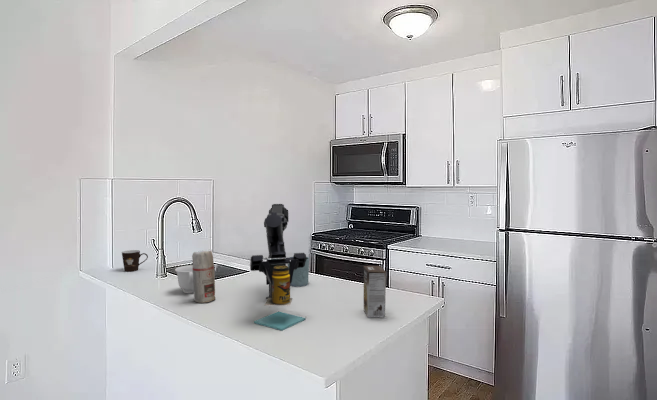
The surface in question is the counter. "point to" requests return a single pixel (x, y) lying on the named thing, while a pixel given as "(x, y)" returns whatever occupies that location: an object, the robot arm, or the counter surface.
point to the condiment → (280, 287)
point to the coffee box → (374, 291)
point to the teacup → (185, 278)
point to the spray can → (203, 276)
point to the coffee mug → (132, 260)
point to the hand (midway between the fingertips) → (281, 283)
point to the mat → (279, 320)
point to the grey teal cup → (300, 275)
